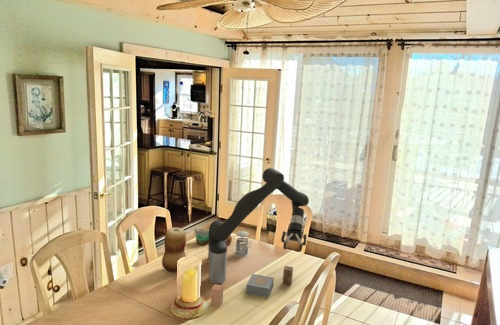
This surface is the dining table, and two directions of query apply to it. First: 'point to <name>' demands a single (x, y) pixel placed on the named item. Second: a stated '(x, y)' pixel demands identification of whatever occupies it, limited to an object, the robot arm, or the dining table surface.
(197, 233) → the food container
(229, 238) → the bread roll
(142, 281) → the dining table surface
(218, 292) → the terracotta block
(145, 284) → the dining table surface
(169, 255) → the butternut squash
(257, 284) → the slate plinth
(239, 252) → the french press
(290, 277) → the walnut block
